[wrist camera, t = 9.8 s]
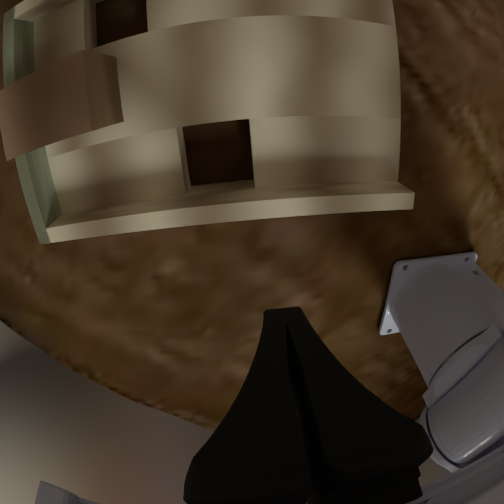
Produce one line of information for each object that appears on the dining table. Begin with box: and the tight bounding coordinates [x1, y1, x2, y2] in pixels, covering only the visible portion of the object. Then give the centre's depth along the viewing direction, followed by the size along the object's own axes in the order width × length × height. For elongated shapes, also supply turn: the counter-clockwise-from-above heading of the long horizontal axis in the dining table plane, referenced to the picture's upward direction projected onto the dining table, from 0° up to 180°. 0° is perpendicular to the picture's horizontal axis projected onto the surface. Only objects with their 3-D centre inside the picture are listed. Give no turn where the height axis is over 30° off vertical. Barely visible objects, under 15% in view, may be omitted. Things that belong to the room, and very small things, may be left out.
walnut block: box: [0, 50, 124, 161], centre depth 12 cm, size 6×4×4 cm, turn 94°
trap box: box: [3, 0, 415, 244], centre depth 13 cm, size 23×16×4 cm
